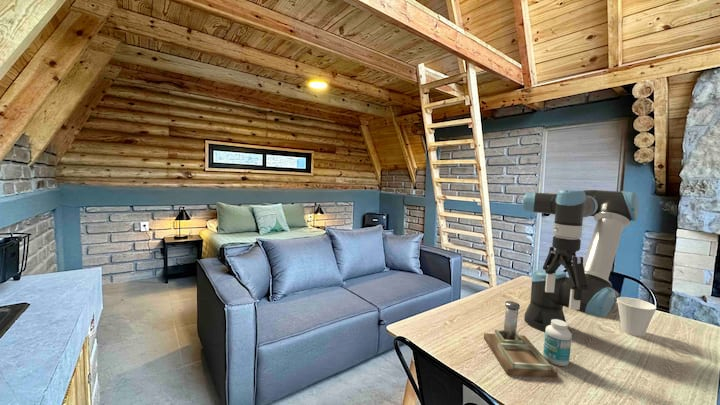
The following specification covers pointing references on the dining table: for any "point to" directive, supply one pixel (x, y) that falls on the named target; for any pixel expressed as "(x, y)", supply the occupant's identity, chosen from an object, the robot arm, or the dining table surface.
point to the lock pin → (510, 320)
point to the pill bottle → (557, 343)
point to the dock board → (519, 356)
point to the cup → (635, 315)
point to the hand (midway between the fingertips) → (560, 300)
